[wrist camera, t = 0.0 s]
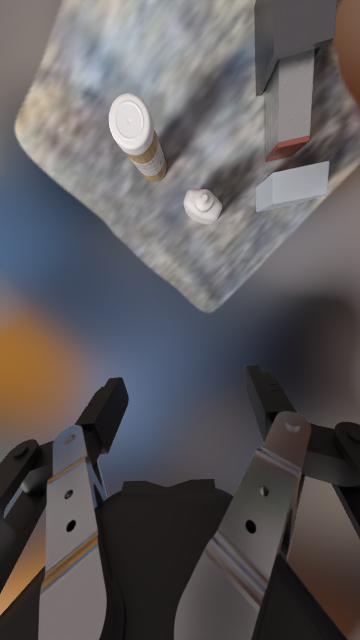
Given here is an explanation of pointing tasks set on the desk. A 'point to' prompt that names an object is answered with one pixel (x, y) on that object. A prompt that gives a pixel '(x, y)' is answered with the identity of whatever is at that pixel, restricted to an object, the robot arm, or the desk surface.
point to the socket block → (292, 186)
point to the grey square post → (289, 105)
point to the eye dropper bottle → (202, 206)
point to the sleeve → (290, 32)
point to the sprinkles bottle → (137, 135)
